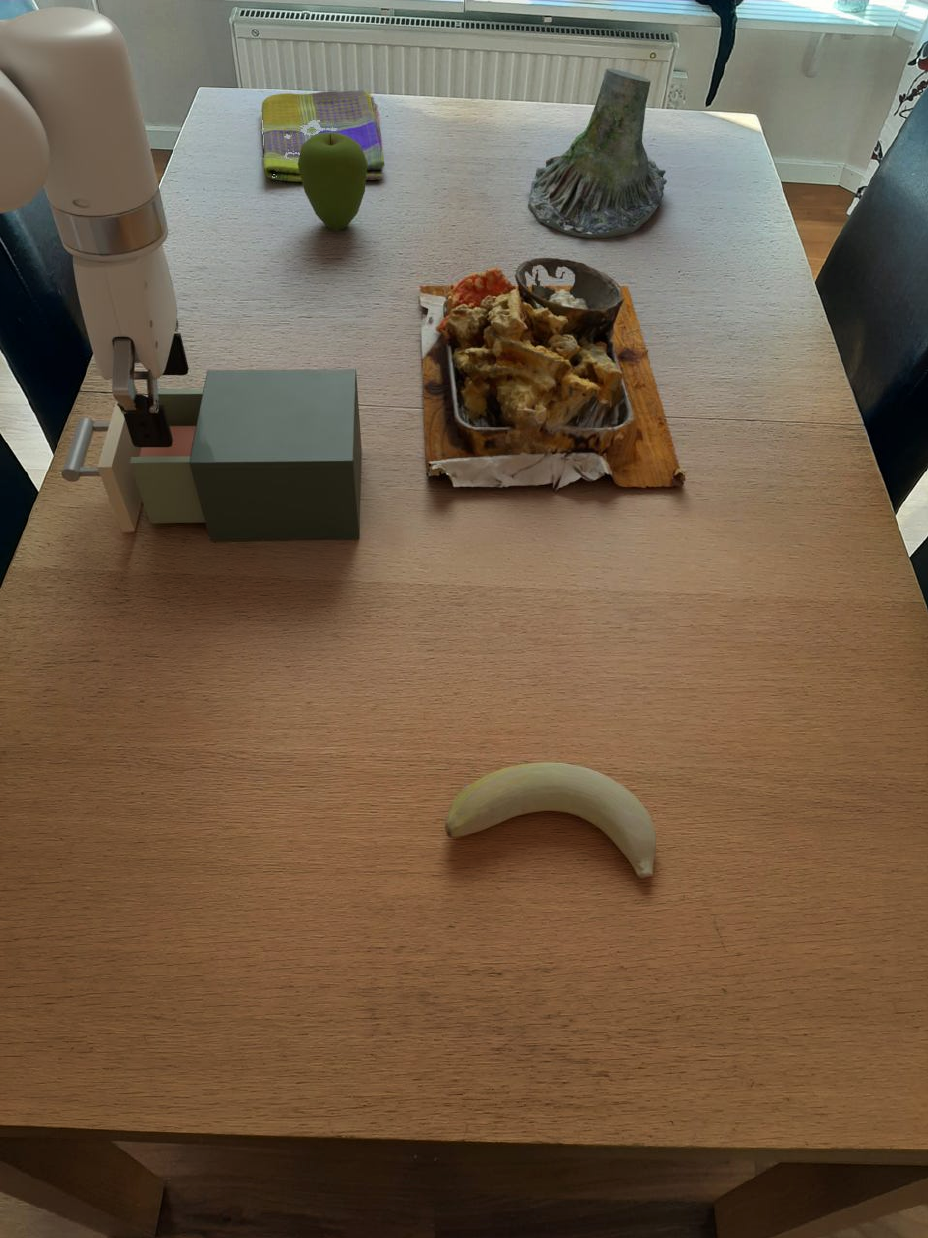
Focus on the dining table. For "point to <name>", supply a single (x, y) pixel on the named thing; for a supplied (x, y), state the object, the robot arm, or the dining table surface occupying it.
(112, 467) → the drawer
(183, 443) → the block
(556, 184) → the tree stump
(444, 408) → the food tray
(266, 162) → the dish towel
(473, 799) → the fruit
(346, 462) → the cabinet
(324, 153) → the apple
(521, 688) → the dining table surface
